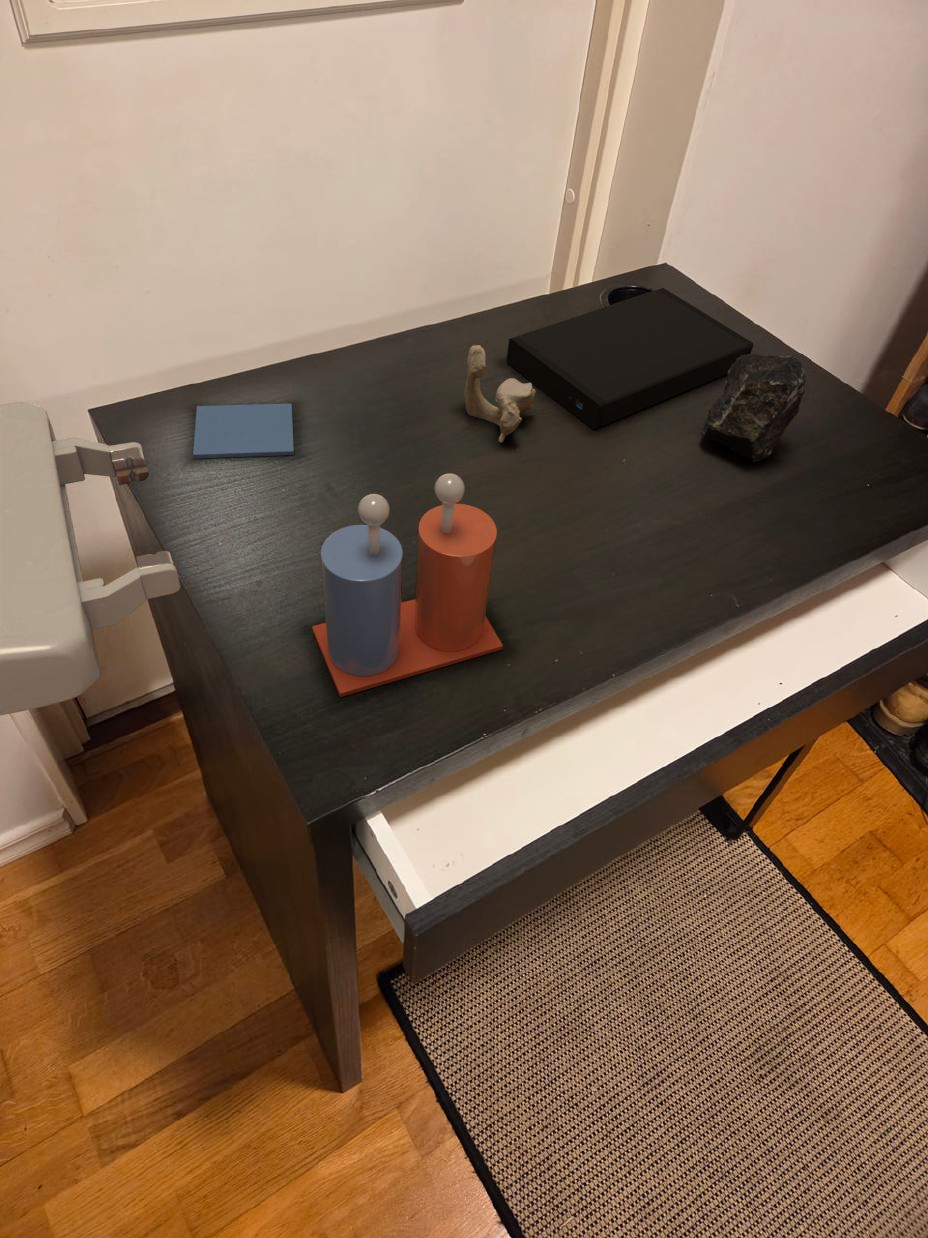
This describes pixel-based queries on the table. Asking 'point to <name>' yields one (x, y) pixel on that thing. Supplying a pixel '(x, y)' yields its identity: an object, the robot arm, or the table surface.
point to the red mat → (406, 655)
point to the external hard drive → (626, 356)
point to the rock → (756, 404)
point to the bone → (509, 396)
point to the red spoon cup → (453, 569)
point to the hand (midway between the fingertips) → (160, 512)
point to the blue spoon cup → (363, 592)
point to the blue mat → (243, 431)
